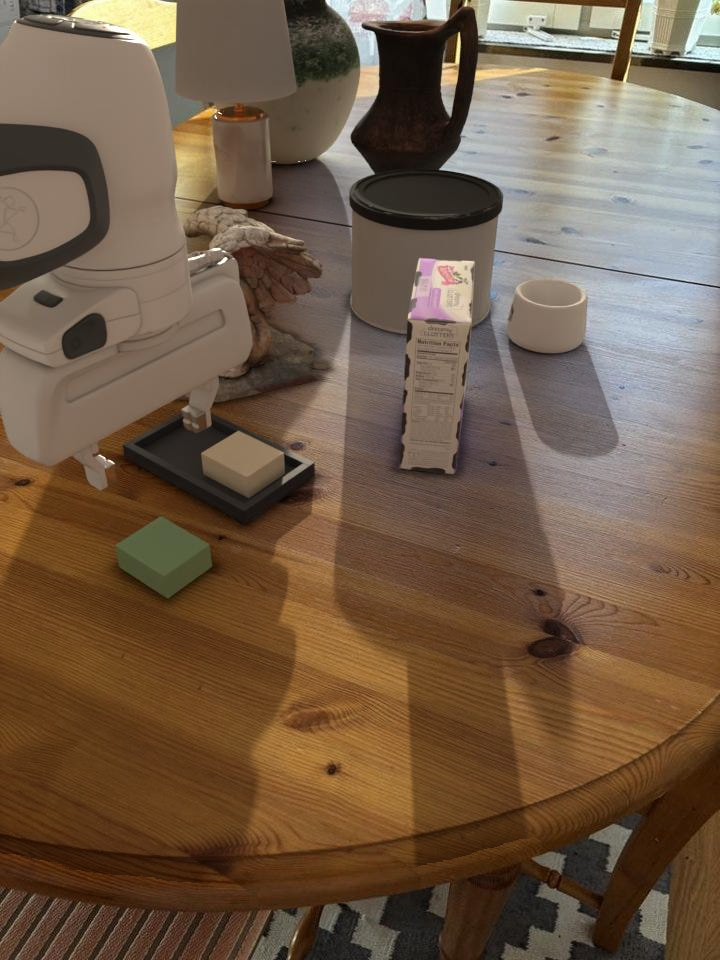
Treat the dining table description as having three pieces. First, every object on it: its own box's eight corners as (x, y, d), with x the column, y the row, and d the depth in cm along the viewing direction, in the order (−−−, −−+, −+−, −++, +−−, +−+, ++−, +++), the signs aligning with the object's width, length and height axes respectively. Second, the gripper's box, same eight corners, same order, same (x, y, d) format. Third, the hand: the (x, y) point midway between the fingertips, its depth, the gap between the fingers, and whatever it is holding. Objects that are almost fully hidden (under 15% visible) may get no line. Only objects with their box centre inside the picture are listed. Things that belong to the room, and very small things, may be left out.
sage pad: (167, 599, 69) (164, 576, 68) (119, 567, 72) (114, 545, 71) (212, 566, 73) (210, 544, 71) (164, 537, 75) (161, 515, 74)
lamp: (219, 179, 156) (201, -39, 135) (316, 191, 151) (312, -33, 130) (166, 212, 141) (137, -26, 121) (272, 228, 136) (259, -18, 116)
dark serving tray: (245, 525, 77) (244, 511, 76) (124, 457, 85) (122, 444, 84) (315, 475, 83) (314, 462, 82) (195, 417, 91) (194, 404, 90)
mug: (585, 359, 103) (594, 313, 99) (504, 352, 104) (510, 306, 100) (581, 315, 112) (589, 272, 109) (506, 309, 113) (512, 266, 110)
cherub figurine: (145, 339, 105) (123, 193, 95) (284, 314, 111) (278, 174, 101) (183, 410, 92) (163, 250, 82) (337, 377, 98) (337, 224, 88)
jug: (327, 199, 147) (326, 1, 130) (387, 173, 160) (393, -12, 142) (433, 226, 138) (447, 15, 120) (487, 195, 150) (508, 1, 132)
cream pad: (248, 498, 79) (247, 477, 78) (203, 474, 82) (200, 453, 81) (285, 474, 82) (284, 452, 81) (240, 451, 85) (238, 430, 84)
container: (385, 266, 125) (388, 160, 116) (509, 291, 118) (523, 181, 109) (323, 317, 111) (322, 201, 102) (461, 349, 104) (472, 228, 95)
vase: (365, 139, 177) (368, -29, 160) (351, 183, 155) (352, -8, 137) (230, 134, 179) (218, -32, 162) (196, 176, 157) (177, -12, 139)
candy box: (410, 397, 95) (418, 255, 85) (463, 402, 94) (477, 259, 85) (397, 470, 84) (404, 316, 74) (457, 475, 83) (473, 321, 74)
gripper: (204, 230, 66) (220, 387, 74) (-38, 325, 53) (14, 501, 61) (264, 250, 63) (274, 411, 71) (23, 356, 50) (69, 537, 58)
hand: (152, 454), depth 66 cm, fingers open, 8 cm apart
